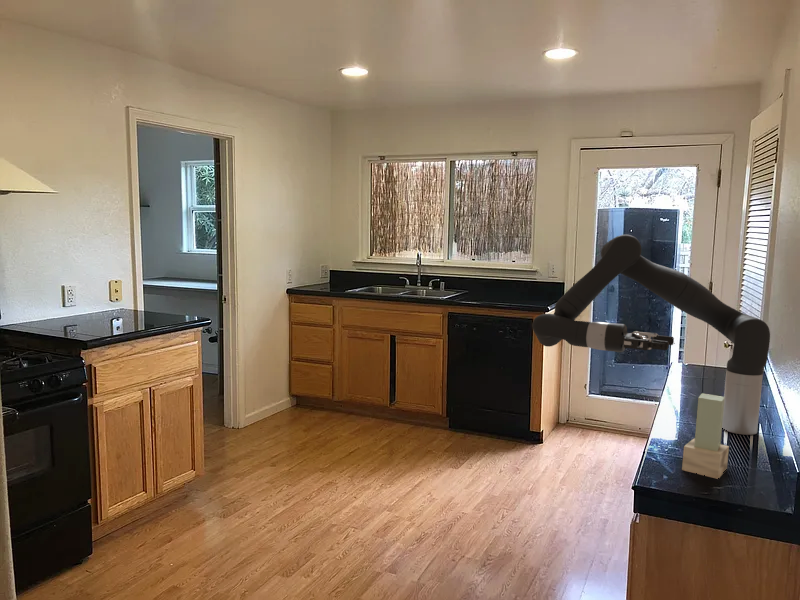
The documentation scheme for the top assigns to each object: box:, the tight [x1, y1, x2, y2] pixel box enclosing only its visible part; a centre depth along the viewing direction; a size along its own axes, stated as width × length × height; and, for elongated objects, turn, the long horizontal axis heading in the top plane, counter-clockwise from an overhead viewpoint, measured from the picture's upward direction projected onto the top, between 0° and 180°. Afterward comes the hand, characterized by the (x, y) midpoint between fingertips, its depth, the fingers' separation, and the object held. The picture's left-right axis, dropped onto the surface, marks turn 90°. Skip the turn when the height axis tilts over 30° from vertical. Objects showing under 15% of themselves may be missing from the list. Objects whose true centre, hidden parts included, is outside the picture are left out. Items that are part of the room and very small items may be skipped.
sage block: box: [694, 392, 725, 451], centre depth 154 cm, size 5×5×12 cm
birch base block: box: [681, 438, 730, 480], centre depth 155 cm, size 8×8×6 cm
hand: (670, 343), depth 167 cm, fingers open, 8 cm apart
